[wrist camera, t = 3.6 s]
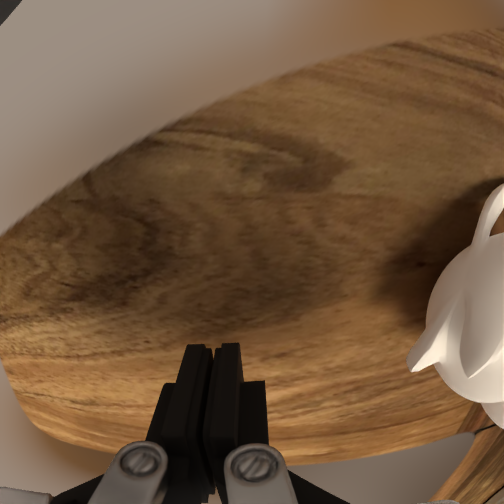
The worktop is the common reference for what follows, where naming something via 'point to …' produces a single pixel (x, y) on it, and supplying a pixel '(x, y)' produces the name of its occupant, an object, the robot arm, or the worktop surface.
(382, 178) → the worktop surface
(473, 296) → the cat figurine
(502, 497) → the jar
